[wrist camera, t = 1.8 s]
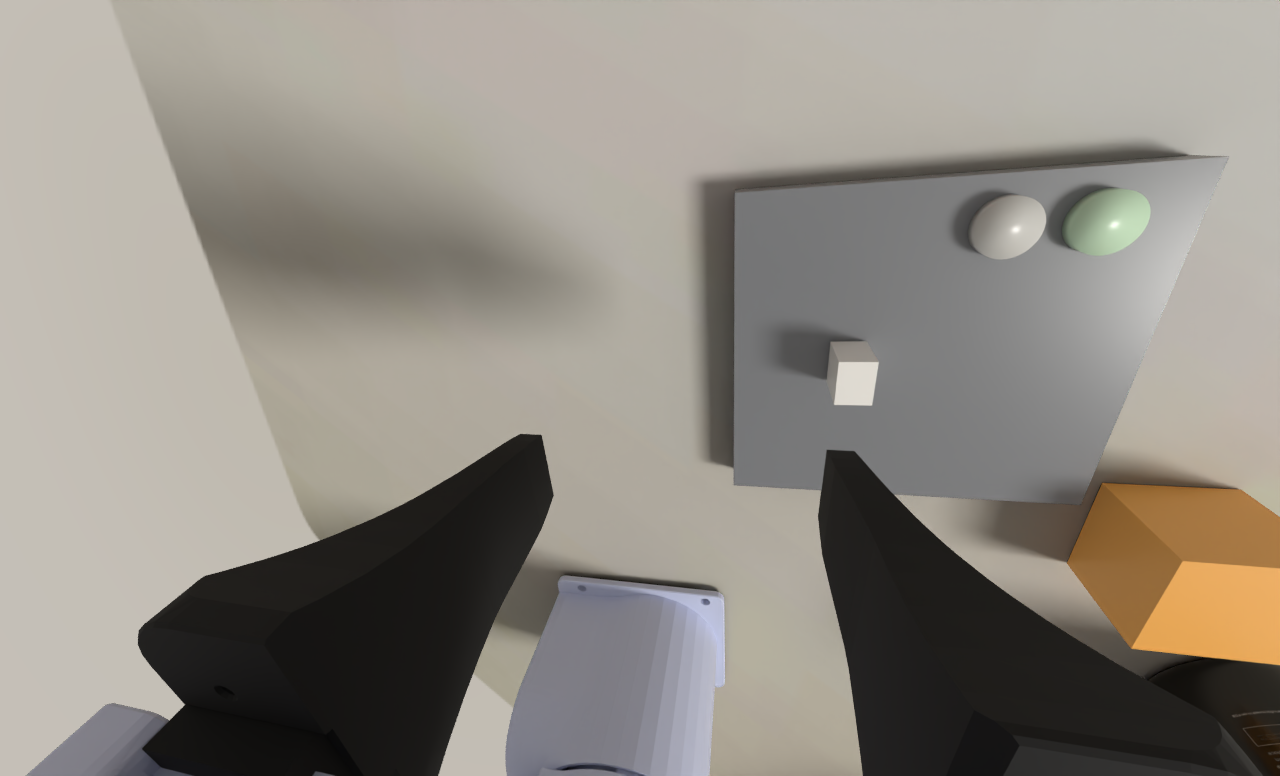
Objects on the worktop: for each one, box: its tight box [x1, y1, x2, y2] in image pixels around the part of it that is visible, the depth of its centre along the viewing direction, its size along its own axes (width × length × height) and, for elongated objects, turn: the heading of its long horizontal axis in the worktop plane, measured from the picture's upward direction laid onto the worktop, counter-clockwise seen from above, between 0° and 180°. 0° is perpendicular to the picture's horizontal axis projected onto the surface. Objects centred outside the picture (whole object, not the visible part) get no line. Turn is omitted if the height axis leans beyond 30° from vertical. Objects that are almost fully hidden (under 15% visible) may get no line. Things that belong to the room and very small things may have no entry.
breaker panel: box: [734, 155, 1229, 505], centre depth 17 cm, size 13×12×2 cm
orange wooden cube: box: [1067, 483, 1280, 665], centre depth 18 cm, size 4×4×4 cm
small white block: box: [826, 341, 879, 406], centre depth 16 cm, size 1×2×2 cm
